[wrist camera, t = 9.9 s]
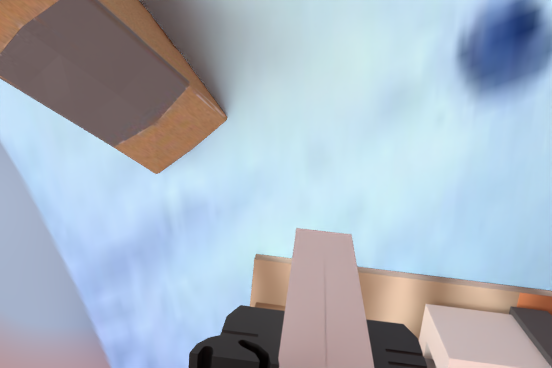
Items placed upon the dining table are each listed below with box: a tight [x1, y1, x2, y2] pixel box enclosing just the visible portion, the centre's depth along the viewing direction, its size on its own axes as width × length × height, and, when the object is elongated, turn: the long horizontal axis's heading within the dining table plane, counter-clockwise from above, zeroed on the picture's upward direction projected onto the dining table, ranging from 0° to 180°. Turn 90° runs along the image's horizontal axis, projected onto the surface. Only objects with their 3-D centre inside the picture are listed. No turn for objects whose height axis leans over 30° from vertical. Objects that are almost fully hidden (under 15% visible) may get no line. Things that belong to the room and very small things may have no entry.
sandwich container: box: [0, 0, 227, 174], centre depth 35 cm, size 9×15×15 cm, turn 37°
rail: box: [250, 254, 552, 368], centre depth 42 cm, size 30×11×8 cm, turn 84°
